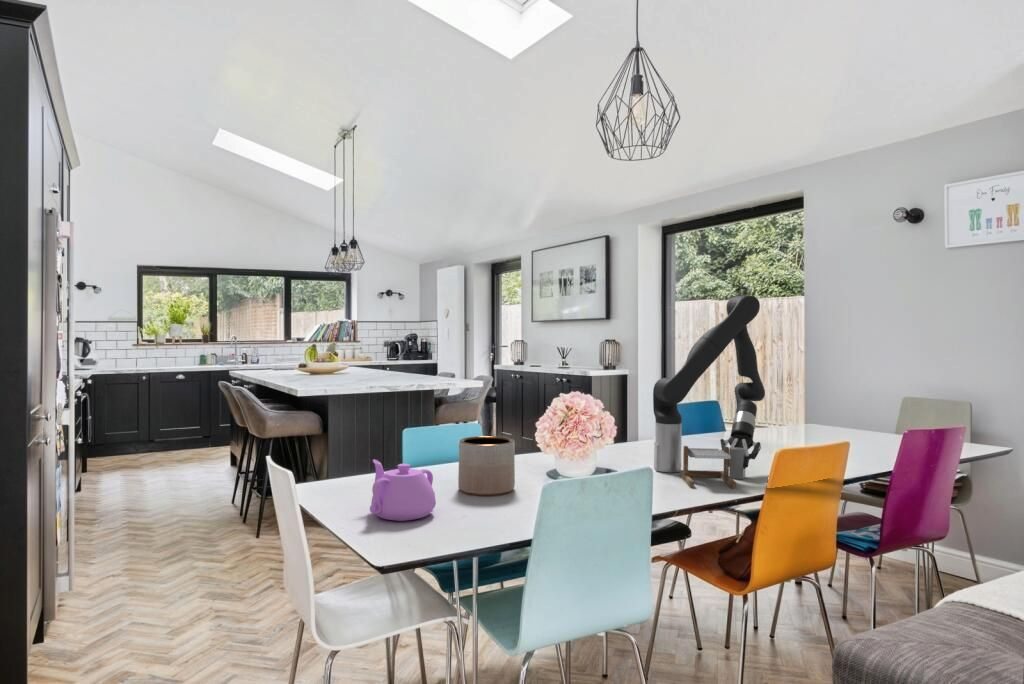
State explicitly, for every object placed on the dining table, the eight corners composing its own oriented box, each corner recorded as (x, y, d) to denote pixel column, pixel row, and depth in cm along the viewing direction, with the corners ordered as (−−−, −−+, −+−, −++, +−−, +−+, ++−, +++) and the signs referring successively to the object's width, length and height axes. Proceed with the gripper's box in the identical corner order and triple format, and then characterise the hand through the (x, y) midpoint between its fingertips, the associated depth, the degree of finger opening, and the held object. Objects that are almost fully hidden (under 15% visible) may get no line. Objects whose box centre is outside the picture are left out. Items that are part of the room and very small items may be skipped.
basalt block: (729, 477, 227) (729, 448, 227) (731, 475, 231) (732, 446, 231) (742, 479, 225) (743, 450, 225) (745, 476, 229) (745, 448, 229)
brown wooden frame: (680, 475, 230) (680, 442, 230) (722, 476, 229) (723, 443, 229) (690, 487, 213) (690, 452, 212) (736, 489, 211) (736, 453, 211)
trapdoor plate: (686, 455, 228) (686, 446, 228) (719, 455, 227) (719, 447, 227) (695, 464, 213) (695, 455, 213) (730, 464, 212) (730, 455, 212)
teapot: (402, 499, 196) (402, 452, 196) (454, 512, 182) (455, 462, 182) (340, 515, 179) (340, 464, 179) (393, 530, 165) (393, 475, 165)
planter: (512, 497, 199) (513, 445, 199) (454, 496, 200) (454, 444, 200) (516, 484, 217) (516, 436, 216) (462, 482, 218) (462, 435, 218)
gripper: (721, 418, 238) (713, 458, 228) (763, 421, 231) (757, 462, 221) (724, 431, 243) (716, 470, 232) (765, 435, 236) (759, 475, 225)
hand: (736, 466), depth 226 cm, fingers closed on basalt block, 4 cm apart
